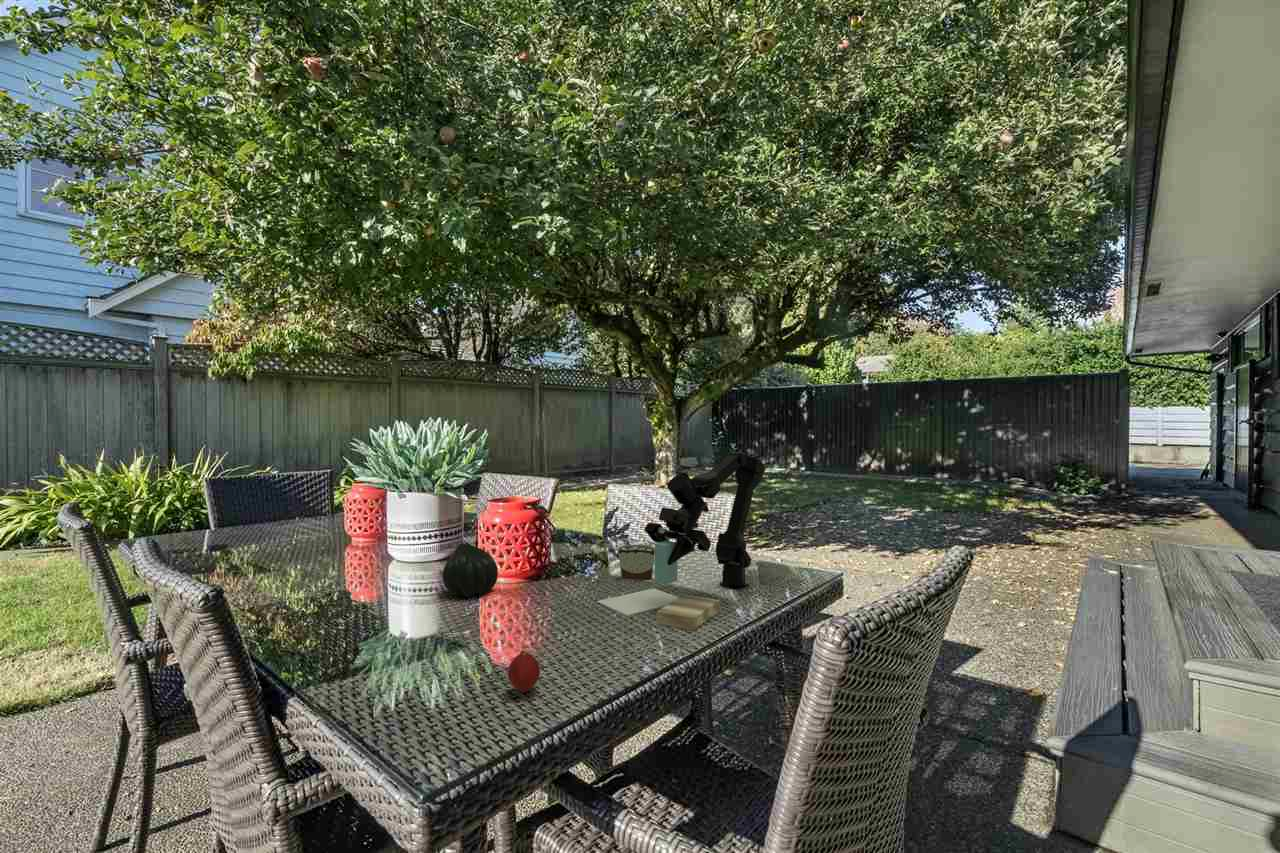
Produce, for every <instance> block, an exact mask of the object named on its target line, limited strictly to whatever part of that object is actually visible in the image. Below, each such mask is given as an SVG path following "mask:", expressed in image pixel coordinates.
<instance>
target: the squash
mask: <svg viewBox="0 0 1280 853" xmlns="http://www.w3.org/2000/svg"><path fill="white" fill-rule="evenodd" d="M498 575H499V572H498V566H497V563H496V561H495V559H494V558H493V556H492V555H491V554H490V553H489V552H487V551H486V550H484V549H482V548H479V547H477V546H474V545H473V544H472V545H471V544H468V543H462V542H461V543H459V544H458V545H457V546H456V548H455V550H454V551H453V553H452V554H451V555H450V557H449V559H448V561H447V562H446V563H445V566H444V567H443V571H442V582H443V585H444V587H445V588H446V590H448V591H449V592H450V593H452V594H453V595H455V597H458V598H460V597H461V596H463V597H466V598H471V597H473V596H475V594H482V593H487V592H488V591H491V589H493V588H494V587H495V586H496V583H497V581H498ZM486 591H487V592H486ZM461 598H462V597H461Z"/></svg>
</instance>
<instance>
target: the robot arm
mask: <svg viewBox="0 0 1280 853" xmlns="http://www.w3.org/2000/svg"><path fill="white" fill-rule="evenodd" d="M765 471H766V466H765V464H764V463H763V461H762V460H761V459H759V458H754V457H753V456H749V455H747V454H746V453H744V452H740V451H739V452H733V451H731V452H728V454H727V455H726V457H724V458H723V459H722V460H721V461H720V462H718V464H716V465H715V466H713V468H712V469H710V470H709V471H707V472H702V473H699V474H697V475H694V476H693V477H692V478H690V475H689V474H688V472H682V471H680V473H679V474H678V475H676V476H674V477H672V478H671V479H670V480H669V481H668V482H667V489H668V491H669V492H670V493H671V495H672V496H673V499H675V501H676V502H677V503H678V504H680V505H681V506H680V507H679V508H678V509H674V508H668V507H661V508H660V509H661V510H660V513H659V515H658V516H659V517H658V520H659V521H663V522H664V523H665V527H667V528H668V529H666V528H664V527H663V526H662V524H661V523H657V522H647V524H646V525H645V528H643V530H644V531H645V532H646V534H647V535H648V536H649V538H650V539H651V540H652V541H653V542H655V543H660V542H664V541H671V539H672V540H676V541H675V542H676V545H675V547H674V549H673V551H672V553H671V555H670V557H669V560H668V562H667V563H668V565H671V564H673V563H674V562H676V561H677V562H678V561H679V560H680V559H681V558H683V557H685V556H687V555H688V554H690V553H691V552H695V550H696V548H695V546H697V550H698V551H701V552H702V551H703V552H709V550H710V548H711V546H712V542H711V540H710V538H709V536H708V535H707V534H706V533H705V531H704V530H701V529H700V530H699V529H698V528H699V523H698V521H699V519H700V517H701V515H702V513H709V507H708V502H706V501H705V500H704V499H714V498H716V496H717V494H718V493H719V492H720V491H721V485H722V484H723V483H724V482H725V481H726V480H727V479H728V478H730V476H732V475H733V474H734V473H735V474H734V476H735V480H736V482H737V488H736V491H735V494H734V495H735V496H734V499H733V504H732V508H731V513H730V517H729V521H728V523H727V524H728V525H727V529H726V530H725V531H724V532H722V533H721V532H719V534H718V538H717V542H716V543H715V556H716V559H717V564H718V565H722V576H721V577H722V578H721V579H722V581H720V582H719V583H718V584H719V585H720V586H723V587H726V588H730V589H732V590H736V589H740V588H741V589H742V588H744V587H749V586H750V584H749V583H748V582H746V568H747V569H748V568H749V567H750V566H751V564H752V563H751V562H752V558H751V556H750V555H749V553H748V552H747V542H746V538H745V535H744V533H745V529H746V525H747V524H746V523H747V520H748V516H749V511H750V507H751V503H752V498H753V494H754V490H755V489H756V487H757V486H758V485H759V484H760V483H761V482H762V480H763V476H764V475H765Z"/></svg>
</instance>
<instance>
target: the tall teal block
mask: <svg viewBox="0 0 1280 853" xmlns="http://www.w3.org/2000/svg"><path fill="white" fill-rule="evenodd" d="M675 545H676V541H671V540H670V541H664V542H660V543H658V542H655V543H654V548H655V556H654V583H656V584H660V585H665V586H666V585H669V584H672V583H674V582H675V583H676V582H678V560H677V561H676V562H674V563H673V564H671V565H668V563H667V562H668V560H669V557H670V555H671V553H672V551H673V549H674V547H675Z"/></svg>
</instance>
